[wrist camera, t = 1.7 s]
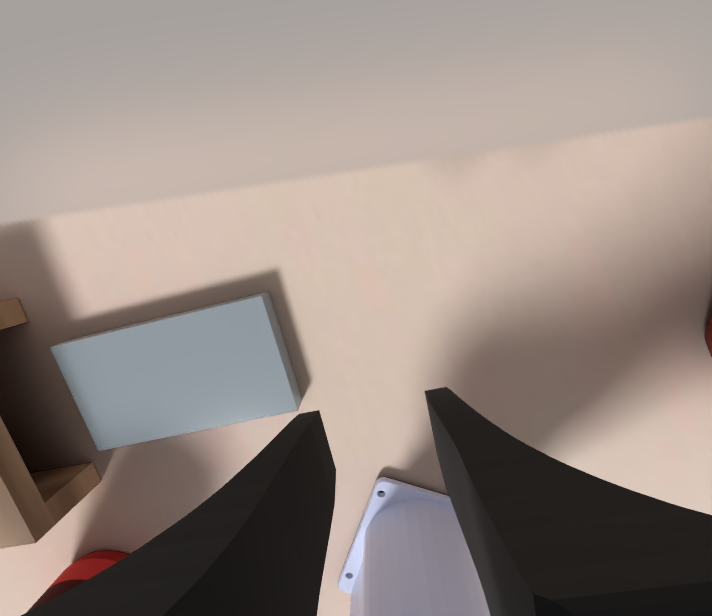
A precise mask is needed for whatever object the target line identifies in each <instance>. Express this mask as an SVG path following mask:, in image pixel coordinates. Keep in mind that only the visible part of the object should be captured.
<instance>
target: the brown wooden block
mask: <svg viewBox="0 0 712 616" xmlns="http://www.w3.org/2000/svg"><path fill="white" fill-rule="evenodd" d="M25 322H28V320H27V318H26V315H25V313H24V311H23V309H22V307H21V305H20V302H19V300H18V298H15V299H10V300H6V301H1V302H0V330H1V329H4V328H8V327H11V326H15V325H18V324H22V323H25ZM100 482H101V479H100V477H99V475H98V473H97V471H96V468H95V466H94V464H93V462H91V463H86V464H80V465H75V466H69V467H63V468H58V469H52V470H47V471H41V472H36V473H30V474H29V472H28V470H27V468H26V466H25V464H24V462H23V460H22V458H21V456H20V454H19V452H18V450H17V448H16V446H15V444H14V442H13V440H12V438H11V436H10V434H9V432H8V430H7V428H6V426H5V424H4V422H3V421H2V419H1V417H0V548H7V547H13V546H19V545H26V544H32V543H36V542H37V541H38V540H39V539H41V538H42V537H43V536H44V535H45V534H46V533H47V532H48V531H49V530H50V529H51V528H52V527H53V526H54V525H55V524H56V523H57V522H59V521H60V520H61V519H62V518H63V517H64V516H65V515H66V514H67V513H68V512H69V511H70V510H71V509H72V508H73V507H74V506H75V505H77V504H78V503H79V502H80V501H81V500H82V499H83V498H84V497H85V496H86V495H87V494H88V493H89V492H90V491H91V490H92V489H93V488H94V487H96V486H97V485H98V484H99V483H100Z"/></svg>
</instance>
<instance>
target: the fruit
mask: <svg viewBox="0 0 712 616" xmlns="http://www.w3.org/2000/svg"><path fill="white" fill-rule="evenodd" d="M705 340H706V344H707V346H708V349H709V352H710V354H711V357H712V317H711V319H710V321H709V324H708V326H707V328H706V330H705Z"/></svg>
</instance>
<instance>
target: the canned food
mask: <svg viewBox="0 0 712 616" xmlns="http://www.w3.org/2000/svg"><path fill="white" fill-rule="evenodd" d="M126 556H128V554H125V553H121V552H116V551H97V552H93V553H89V554H87V555H85V556H83V557H81V558H80V559H79V560H77V561H76V562H74V563H73V564H72V565H70V566H69V567H68V568H67V569H66V570H64V571H63V573H62V574H61V575H60V576H59V577H58V578H57V579H56V580H55V582H54V583H53V584H52V585H51V586H50V587H49V588H48V589H47V590H46V592H45V593H44V594H43V595H42V596H41V597H40V598H39V599H38V600H37V602H36V603H35V604H34V605H33V606H32V607H31V608H30V609H29V610H28V612H29V611H31V610H33V609H35V608H37V607H39V606H40V605H42V604H44V603H46V602H48V601H50V600H52V599H54V598H56V597H57V596H59V595H61V594H63V593H65V592H67V591H69V590H70V589H72V588H74V587H76V586H77V585H79V584H81V583H83V582H84V581H86V580H88V579H90V578H91V577H93V576H95V575H96V574H98V573H100V572H101V571H103V570H105V569H107V568H108V567H110V566H112V565H113V564H115V563H116V562H118V561H120V560H121V559H123V558H124V557H126Z"/></svg>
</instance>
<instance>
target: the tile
mask: <svg viewBox="0 0 712 616" xmlns="http://www.w3.org/2000/svg"><path fill="white" fill-rule="evenodd" d="M50 349H51V351H52V353H53V356H54V358H55V360H56V362H57V364H58V366H59V368H60V371H61V373H62V375H63V377H64V379H65V381H66V383H67V385H68V388H69V390H70V392H71V394H72V396H73V398H74V400H75V402H76V405H77V407H78V409H79V411H80V413H81V415H82V417H83V419H84V422H85V424H86V426H87V428H88V430H89V432H90V434H91V436H92V439H93V441H94V443H95V445H96V447H97V449H98V451H102V450H107V449H112V448H117V447H122V446H127V445H131V444H136V443H141V442H146V441H151V440H156V439H161V438H166V437H171V436H176V435H181V434H186V433H191V432H196V431H201V430H205V429H210V428H215V427H220V426H225V425H230V424H235V423H240V422H245V421H250V420H255V419H260V418H265V417H270V416H275V415H280V414H284V413H289V412H294V411H298V409H299V406H300V404H301V402H302V397H301V394H300V391H299V388H298V384H297V381H296V378H295V375H294V372H293V368H292V365H291V362H290V359H289V356H288V352H287V349H286V346H285V343H284V339H283V336H282V333H281V330H280V327H279V323H278V320H277V317H276V314H275V311H274V307H273V304H272V301H271V298H270V294H269V291H268V292H264V293H260V294H256V295H252V296H247V297H243V298H239V299H235V300H231V301H227V302H223V303H219V304H215V305H210V306H206V307H202V308H198V309H194V310H190V311H186V312H182V313H178V314H173V315H169V316H165V317H161V318H157V319H153V320H149V321H145V322H141V323H137V324H132V325H128V326H124V327H120V328H116V329H112V330H108V331H104V332H100V333H95V334H91V335H87V336H83V337H79V338H75V339H71V340H67V341H65V342H62V343H59V344H57V345H54V346H51V347H50Z"/></svg>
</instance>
